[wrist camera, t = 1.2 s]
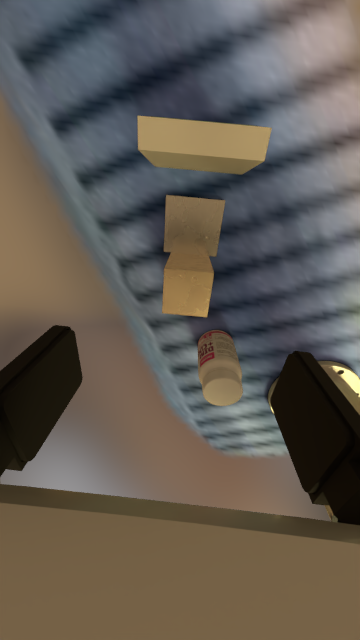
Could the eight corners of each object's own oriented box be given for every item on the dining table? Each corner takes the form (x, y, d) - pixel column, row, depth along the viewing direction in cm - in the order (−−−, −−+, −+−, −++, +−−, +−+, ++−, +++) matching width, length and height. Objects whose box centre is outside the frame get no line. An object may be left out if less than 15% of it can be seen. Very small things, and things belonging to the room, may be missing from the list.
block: (241, 174, 19) (264, 161, 13) (155, 166, 20) (138, 149, 13) (246, 150, 19) (272, 123, 12) (155, 142, 19) (137, 111, 13)
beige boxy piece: (210, 290, 25) (216, 318, 19) (162, 285, 25) (153, 312, 19) (224, 200, 20) (238, 199, 14) (166, 195, 21) (156, 191, 14)
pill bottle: (204, 324, 27) (209, 369, 20) (238, 334, 28) (256, 382, 20) (192, 352, 29) (192, 402, 22) (224, 361, 30) (235, 413, 23)
